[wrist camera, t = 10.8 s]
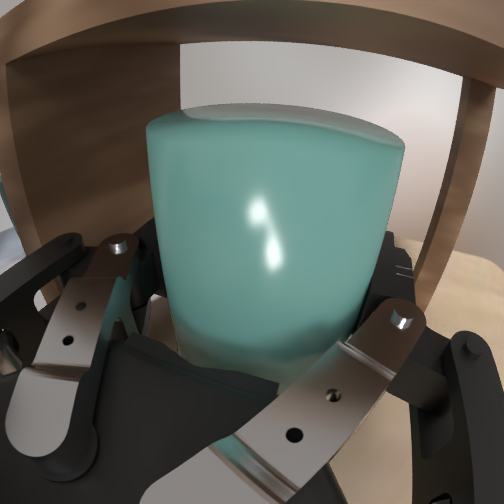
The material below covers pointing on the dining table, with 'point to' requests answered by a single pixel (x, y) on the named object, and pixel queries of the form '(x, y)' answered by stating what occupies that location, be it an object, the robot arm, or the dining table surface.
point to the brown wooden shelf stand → (168, 98)
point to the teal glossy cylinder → (268, 230)
